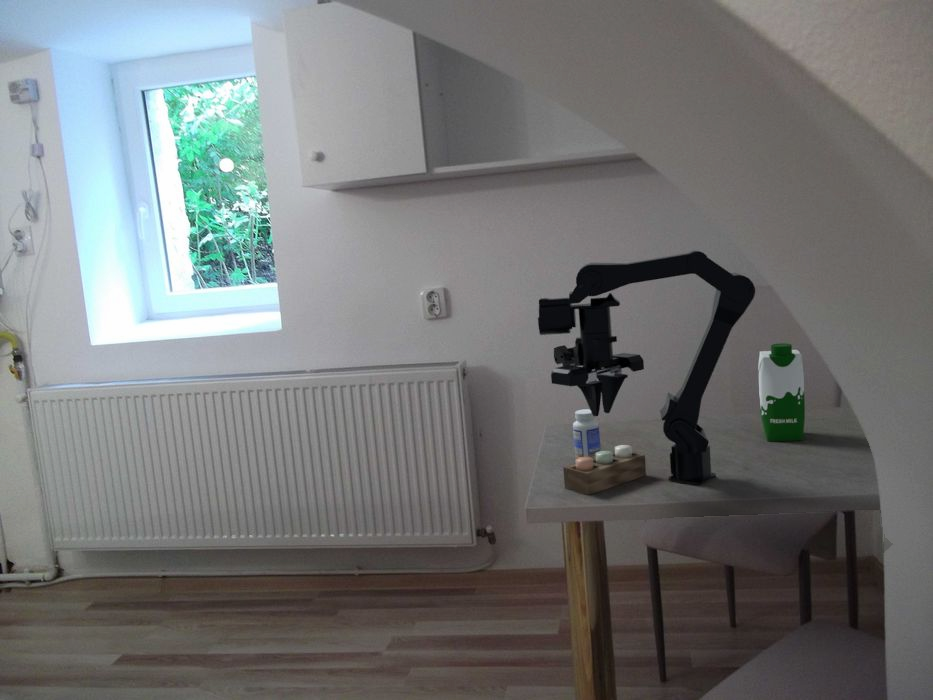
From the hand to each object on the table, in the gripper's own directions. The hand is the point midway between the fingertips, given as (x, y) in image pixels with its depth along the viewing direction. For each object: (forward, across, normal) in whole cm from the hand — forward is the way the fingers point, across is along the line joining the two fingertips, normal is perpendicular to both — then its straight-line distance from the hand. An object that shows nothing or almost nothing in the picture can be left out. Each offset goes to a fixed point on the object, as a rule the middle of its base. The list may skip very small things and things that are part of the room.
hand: (601, 414), depth 157 cm
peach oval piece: (+10, +5, 0) cm, 11 cm away
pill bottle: (+13, -10, -15) cm, 22 cm away
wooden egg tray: (+13, 0, 0) cm, 13 cm away
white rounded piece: (+10, -5, 0) cm, 11 cm away
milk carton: (+13, -45, +7) cm, 47 cm away
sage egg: (+10, 0, 0) cm, 10 cm away
